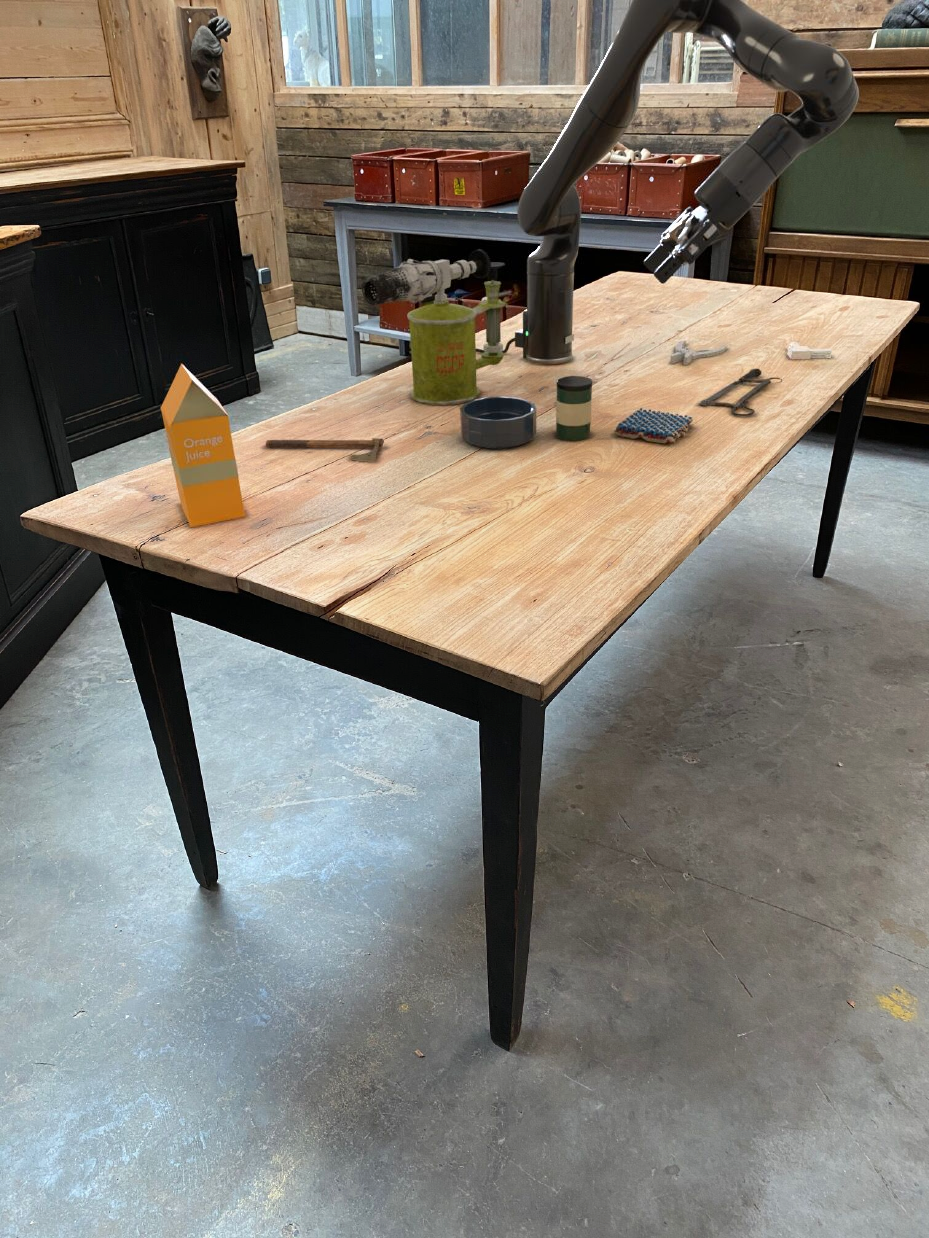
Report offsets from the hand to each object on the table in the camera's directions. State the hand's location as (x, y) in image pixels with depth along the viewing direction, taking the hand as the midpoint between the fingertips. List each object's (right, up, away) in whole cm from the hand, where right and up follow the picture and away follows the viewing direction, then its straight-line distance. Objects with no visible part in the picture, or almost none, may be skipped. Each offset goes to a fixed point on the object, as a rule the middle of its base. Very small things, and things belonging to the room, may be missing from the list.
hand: (652, 273), depth 142 cm
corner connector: (+41, +1, +48) cm, 63 cm away
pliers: (+18, +2, +50) cm, 53 cm away
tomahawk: (-50, -25, +11) cm, 57 cm away
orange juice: (-64, -37, -9) cm, 75 cm away
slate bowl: (-23, -23, +12) cm, 34 cm away
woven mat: (+3, -22, +12) cm, 25 cm away
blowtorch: (-32, -11, +33) cm, 47 cm away
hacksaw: (+23, -12, +27) cm, 37 cm away
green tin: (-11, -22, +12) cm, 27 cm away
